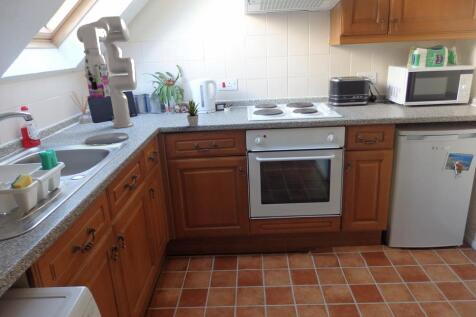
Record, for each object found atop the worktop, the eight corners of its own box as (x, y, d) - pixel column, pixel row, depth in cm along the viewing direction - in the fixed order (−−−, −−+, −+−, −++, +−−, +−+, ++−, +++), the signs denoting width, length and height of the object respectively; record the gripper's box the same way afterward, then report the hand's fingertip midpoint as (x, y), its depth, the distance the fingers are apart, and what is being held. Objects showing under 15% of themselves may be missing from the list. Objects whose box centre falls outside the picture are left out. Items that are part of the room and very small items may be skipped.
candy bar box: (112, 96, 185) (107, 64, 181) (104, 98, 181) (99, 64, 176) (97, 96, 191) (91, 64, 186) (89, 97, 186) (83, 65, 182)
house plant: (178, 124, 222) (175, 98, 217) (199, 121, 227) (196, 96, 222) (184, 128, 209) (181, 100, 204) (206, 125, 214) (204, 98, 210)
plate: (76, 143, 188) (76, 140, 188) (108, 134, 207) (108, 131, 206) (106, 146, 178) (105, 143, 178) (137, 136, 197) (136, 133, 196)
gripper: (84, 52, 171) (91, 91, 176) (111, 51, 185) (116, 87, 190) (73, 53, 174) (80, 91, 179) (101, 52, 188) (106, 87, 194)
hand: (99, 88), depth 185 cm, fingers closed on candy bar box, 5 cm apart
